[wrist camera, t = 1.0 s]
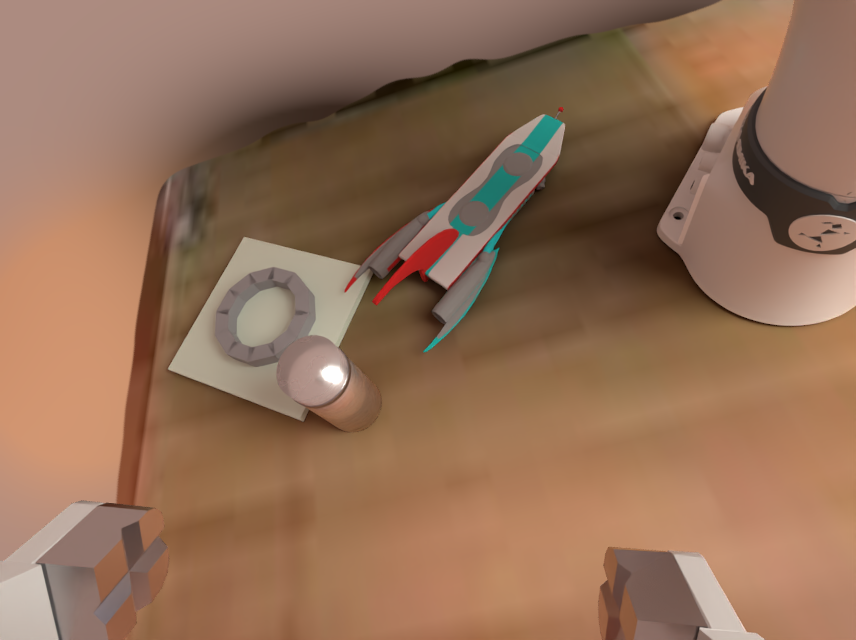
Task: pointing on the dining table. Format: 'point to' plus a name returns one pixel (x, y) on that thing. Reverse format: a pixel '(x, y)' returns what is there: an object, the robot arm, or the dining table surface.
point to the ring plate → (267, 320)
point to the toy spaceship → (470, 222)
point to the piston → (328, 383)
